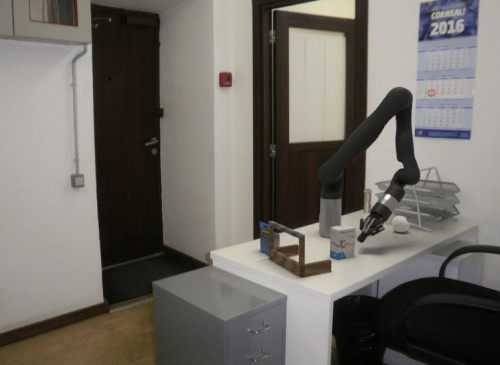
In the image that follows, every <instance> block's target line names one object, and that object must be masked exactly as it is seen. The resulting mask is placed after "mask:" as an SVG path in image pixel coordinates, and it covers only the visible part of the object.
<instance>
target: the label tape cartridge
mask: <svg viewBox="0 0 500 365" xmlns="http://www.w3.org/2000/svg"><path fill="white" fill-rule="evenodd" d="M280 238H281V235H280V233H277V232H275V231H274V248H276V247H281V246H280V244H281V242H280ZM259 244H260V245H259V248H260V252H262V253H265V254H267V255H269V230H268V223H265V222H263V221H259Z"/></svg>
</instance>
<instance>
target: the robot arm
mask: <svg viewBox="0 0 500 365" xmlns="http://www.w3.org/2000/svg"><path fill="white" fill-rule="evenodd" d="M413 96H414V95H413V93H412V92H411V91H410V90H409V89H408V88H406V87H402V86H397V87H393V88H392V89H390V90H389V91H388V92H387V94H386V95H385V96H384V98H383V99H382V101H381V102H380V103H379V104H378V106H377V107H376V108H375V109H374V110H373V112H371V113H370V114H369V116H367V117H366V119H364V120H363V121H362V123H360V124H359V125H358V127H356V129H354V131H353V132H352V133H351V134H350V136H348V138H346V140H345V141H344V143H343V144H342V145H341V146H340V148H339V149H338V150H337V151H336V152H335V153H334V154H333V155H332V156H331V157H330V158H329V159H328V160H327V161H325V162H324V163H323V164H322V165H321V166H320V168H319V170H318V179H319V180H320V182H321V183H322V189H321V190H320V208H319V209H320V210H319V211H320V213H319V216H318V218H319V220H318V228H319V229H318V230H319V231H318V232H319V233H318V234H319V235H320V237H322V238H326V239H327V238H328V239H330V231H331V228H332V227H334V226H342V196H343V191H344V190H343V189H344V170H345V169H347V167H348V166H350V165H351V163H352V162H353V161H355V160H356V159H357V158H359V157H360V156H361V155H362V154H364V153H365V152H366V151H367V150H368V149H369V148H371V146H372V145H373V144H374V143H375V142H376V141H377V140H378V139H379V137H380V135H381V134H382V132H383V131H384V128H385V127H386V125H387V124H388V123H389V122H390V121H391V119H393V118H395V136H394V137H395V139H394V141H395V142H394V143H395V144H394V145H395V155H396V156H395V157H396V161H397V162H399V163H401V164H402V168H399V169H398V170H395V173H394V174H393V175H392V178H391V181H390V184H389V185H388V187H387V189H385V191H384V192H383V194H382V195H381V196H380V197H379V198H378V199H377V201H376V202H375V203H374V204H373V206H372V207H371V209H370V210H369V212H370V213H369V214H368V216H366V218H362V217H361V218H360V220H359V230H360V234H359V235H358V236H357V238H356V241H358V243H361V244H363V243H364V242H365V241H366V240H367V238H368V237H374V236H376V235H377V234H379V233H381V232H383V231H385V230H386V228H385V227H384V224H385V223H386V222H388V220H389V219H390V218H391V215H393V213H394V212H395V211H396V209H397V207H398V206H399V204H400V202H401V201H402V200H403V199H404V197H405V194H406V191H405V189H404V188H405V187H406V186H415V185H418V183H419V182H420V179H421V170H420V166H419V164H418V161H417V158H416V157H415V145H414V144H415V143H414V137H413V125H412V124H413V122H412V120H413V118H412V116H413V112H412V111H413V104H414V103H413V101H414V97H413Z"/></svg>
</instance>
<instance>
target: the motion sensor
mask: <svg viewBox="0 0 500 365" xmlns="http://www.w3.org/2000/svg"><path fill="white" fill-rule="evenodd" d="M391 220H392V221H391V226H392V229H393V230H394V231H395V232H397V233H399V234H400V233H401V234H402V233H406V232H407V231H408V230H409V229H410V226H411V224H410V222H408V220H407V217H406V216H402V215H395V217H393V219H391Z"/></svg>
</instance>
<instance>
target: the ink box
mask: <svg viewBox="0 0 500 365" xmlns="http://www.w3.org/2000/svg"><path fill="white" fill-rule="evenodd" d="M356 229H357V228H356V227H354V226H353V225H352V226H351V225H350V224H343V225H342V224H341V226H334V227H332V228H331V231H330V238H329V239H330V240H329V257H330V258H333V259H334V260H337V261H339V260H344V259H349V258H354V257H355V252H356V251H355V250H356Z"/></svg>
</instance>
